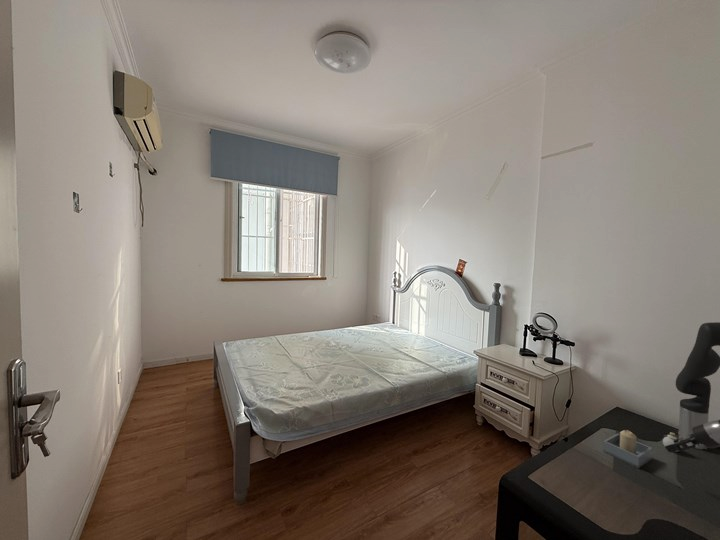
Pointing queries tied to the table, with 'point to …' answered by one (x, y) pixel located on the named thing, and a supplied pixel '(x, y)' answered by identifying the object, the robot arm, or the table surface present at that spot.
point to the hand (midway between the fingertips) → (671, 446)
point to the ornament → (670, 439)
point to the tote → (627, 452)
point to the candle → (628, 441)
